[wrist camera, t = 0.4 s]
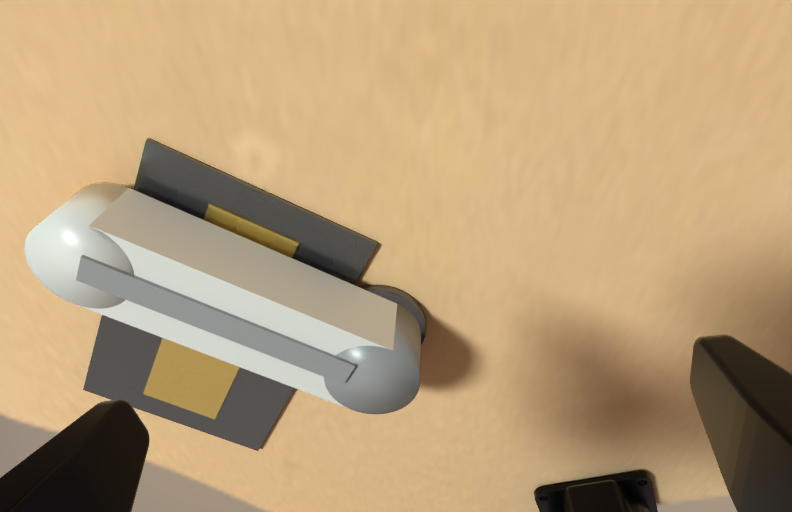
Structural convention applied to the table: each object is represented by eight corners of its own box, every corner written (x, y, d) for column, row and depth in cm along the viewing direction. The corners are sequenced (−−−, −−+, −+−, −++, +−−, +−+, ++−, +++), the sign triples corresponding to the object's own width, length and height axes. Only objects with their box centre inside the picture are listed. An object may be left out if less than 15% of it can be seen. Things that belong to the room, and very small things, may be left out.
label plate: (325, 471, 32) (324, 478, 32) (85, 386, 30) (80, 394, 29) (462, 280, 24) (462, 287, 24) (148, 138, 21) (142, 142, 21)
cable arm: (397, 375, 27) (393, 428, 24) (64, 242, 23) (17, 285, 21) (436, 320, 25) (436, 371, 22) (78, 165, 21) (27, 203, 19)
